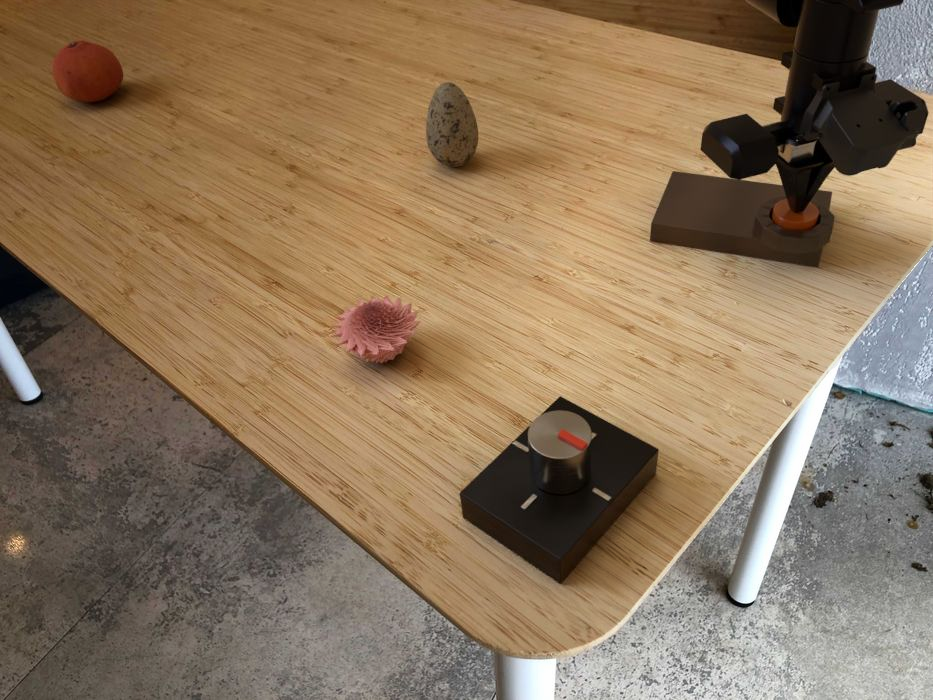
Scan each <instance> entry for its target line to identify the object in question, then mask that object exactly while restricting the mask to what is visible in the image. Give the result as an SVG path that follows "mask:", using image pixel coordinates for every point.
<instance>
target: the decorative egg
mask: <svg viewBox="0 0 933 700" xmlns="http://www.w3.org/2000/svg"><path fill="white" fill-rule="evenodd" d="M425 120H426V121H425V138H426V143H427V147H428V149H429V152H430V153H431V155H432V157H433V158H434V159H435V160H436V161H437V162H438V163H440V164H442V165H443V166H446V167H450V168H456V167H461V166H463V165H465V164H467V163H468V162H469V161H470V160H471V159H472V158H473V157H474V155H475V153H476V151H477V149H478V145H479V128H478V122H477V118H476V115H475V111H474V110H473V107H472V105H471V103H470V100H469V99H468V97H467V96H466V94H465V92H464V91H463V90H462V89H461V88H460V87H459V85H457V84H455V83H453V82H450V81H447V82H443V83H440V85H438V86H437V88H436V89H435V90H434V92H433V94H432V95H431V99H430V102H429V105H428V108H427V113H426V119H425Z"/></svg>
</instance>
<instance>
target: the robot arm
mask: <svg viewBox="0 0 933 700" xmlns="http://www.w3.org/2000/svg"><path fill="white" fill-rule="evenodd" d="M744 1H745V2H746V3H747V4H749V5H751V6H752V7H754V8H755V9H757V10H759V12H762V13H763V14H765V15H766V16H767V17H769V18H771V19H773V20H774V21H776V22H777V23H779V24H780V25H782V26H785V27H787V28H796V33H795V38H794V43H793V49H792V50H788V51H783V52H782V53H781V54H782V56H781V61H780V65H781V66H783V67H784V68H785V69H787V70H788V77H787V81H786V87H785V93H784V95H783V96H777V97H774V101H773V107H772V110H774V111H775V112H776V113H778V114H779V115H780V120H779V121H775V122H771V123H767V124H763V125H761V124H760V122H758V121H756V120H755V119H754V118H753V117H751V116H750V115H749V114H748V113H743V114H739V115H735V116H731V117H726V118H722V119H717V120H714V121H711V122H709V123H708V124H707V125H706V126H705V127H704V128H703V131H702V134H701V141H700V151H701V152H702V153H703V154H704V155H705V156H706V157H707V158H708V159H709V160H711V161H712V162H713V163H714V164H715V166H717V167H718V168H719V169H720V170H721V171H722V172H723V173H724V174H725V175H726V176H728V178H731V179H738V180H745V179H749V178H752V177H756V176H760V175H764V174H768V173H769V171H770V170H771V169H772V168H773V167H774V166H776V170H777V171H778V174H779V178H780V181H781V185H783V188H784V191H785V194H786V198H787V201H788V204H789V207H790V209H791V210H792V211H793V212H794V213H799V212H803V211H804V210H805V208H806V207H807V205H808V204H809V203H810V201H811V200H812V198H813V197H814V195H815V194H816V192H817V191H818V190H820V188H821V187H822V185H823V183H824V182H825V181H826V179H827V178H828V177H829V175H830V174H831V173H832V172H833V170H834V169H835V170H836V171H837V172H838V173H839V174H840V175H843V176H847V177H848V176H849V177H851V176H857V175H858V174H860V173H862V172H866V171H871V170H875V169H883V168H885V167H887V166H888V165H890V163H891V161H892V160H893V159H894V157H895V156H896V154H897V153H898V151H902V150H905V149H910V148H913V147H915V146H916V145H917V137H918V136H919V135H922V134H923V133H924V130H925V126H926V123H927V120H928V117H929V108H928V106H927V105H928V104H927V103H926V101H925V99H924V98H922V97H921V96H919V95H917V94H916V93H914V92H912V91H911V90H909V89H907V88H906V87H905V86H903V85H901V84H899V83H898V82H896V81H894V80H893V79H892V78H890V79H886V80H882V81H877V78H878V75H877V74H876V72H877V67H876V66H875V65H873V64H871V63H870V62H868V57H869V54H870V49H871V45H872V41H873V38H874V37H873V36H874V32H875V30H876V29H875V28H876V25H877V21H878V17H879V13H880V11H881V10H887V9H890V8H894V7H900V6H901V5H902V4H903V3H904V0H744ZM876 81H877V82H876Z"/></svg>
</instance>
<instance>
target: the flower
mask: <svg viewBox="0 0 933 700" xmlns="http://www.w3.org/2000/svg"><path fill="white" fill-rule="evenodd" d="M355 302H356V303H357V306H354V307H349V306H343V309H344V310H346V311H348V312H344V313H343V314H339V315H334V316H333V317H334V319H341V321H339V322H336V323H335V324H331V325H329V326H328V327H329V328H332V329H333V328H339V329H338V331H336V332H335V333H334V334H331V335H330V336H329V338H330V339H331V338H340V339H339V341H338V342H337V343H336V345H335V346H336V347H339V346H342V345H345V344H346V353H350V352H351V351H352V352H354V354H355V355H359V356H360V359H363V360H364V359H365V361H366V363H369V362H373V363H376V364H379V363H380V364H383V363H387V362H388V361H393V360H394V359H395V358H396V356H398V355H401V354H402V353H403V350H404V348H405V346H406V345H407V344H408V340H409V339H411V338H412V337H413V336H414V335H415V334H417V331H415V329H416V327H418V325H419V324H420V323H421V321H420V320H416V318H417V316H418V314H419V311H418V310H417V311H413V312H412V303H411V302H410V303H408V304H406V305H404V306H403V304H402V298H401V296H400V297H398V298H397V299H396V300H395V301H394V302H392V301H391V299H390V297H389V296H388V295H387V294H386V295H384V297H383V300H380V299H377V298H375V297H374V296H373V295H371V296H370V300H369V301H368V302H367V301H362V300H360V299H356V300H355Z"/></svg>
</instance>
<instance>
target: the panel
mask: <svg viewBox="0 0 933 700" xmlns="http://www.w3.org/2000/svg"><path fill="white" fill-rule="evenodd" d="M559 410H560V411H569V412H572V413H575V414H577V415H579V416H581V417H582V418H583V419H585V421H586V422H587V423H588V424H589V426H590V428H591V431H592V448H591V475H590V478H589V480H588V482H587V483H586V484H585V485H584V486H583V487H582V488H581V489H579V490H577V491H575V492H573V493H569V494H561V495H560V494H552V493H548V492H546V491H544V490H542V489H540V488H539V487H538V486H537V485H536V484H535V483H534V482H533V480H532V478H531V476H530V467H529V448H528V430H529V427H530V425H528V426H527V427H526V428H525V429H524V430H523V431H522V432H521V433H520V434H519V435H518V436H517V437H516V438H514V440H512V442H510V444H509V445H508V446H507V447H506V448H505V449H504V450H502V451H501V452H500V453H499V454H498V455H497V456H496V457H495V458H494V459H493V460H492V461H491V462H490V463H489V464H488V465H487V466H486V467H485V468H484V469H483V470H481V471H480V473H478V474H477V475H476V476H475V478H474V479H472V480H471V481H470V482H469V483H468V484H467V485H466V486H465V487H464V488H463V489H462V490H461V491H460V492H459V499H460V507H461V514H462V518H463V519H464V520H466V521H467V522H469V523H470V524H472V525H473V526H474V527H476V528H477V529H479V530H480V531H482V532H483V533H485V534H486V535H487V536H489V537H490V538H492V539H494V540H495V541H496V542H498V543H499V544H501V545H502V546H503V547H505V548H507V550H510V551H511V552H513V553H514V554H515V555H517V556H519V557H520V558H521V559H523V560H524V561H526V562H527V563H529V564H530V565H532V566H533V567H535V568H536V569H538V570H539V571H540V572H542V573H543V574H545V575H546V576H547V577H549V578H551V579H552V580H553V581H555V582H556V583H558V584H559V585H562V583H564V581H565V580H567V578H568V577H569V575H570V574H571V573H572V572H573V571H574V570H575V569H576V568H577V566H578V565H579V564H580V563H581V562H582V561H583V559H584V558H585V556H587V555H588V554H589V553H590V551H591V550H592V549H593V548H594V547H595V545H596V544H598V543H599V541H600V540H601V538H602V537H604V535H605V534H606V533H607V532H608V531H609V529H610V528H611V527H612V526H613V525H614V524H615V523H616V521H618V520H619V518H620V517H621V516H622V514H623V513H624V512H625V511H626V509H628V507H630V505H631V504H632V503H633V502H634V500H635V499H636V498H637V497H638V496H639V495H640V494H641V492H642V491H643V490H644V489H646V487H647V485H649V483H650V482H651V481H652V480H653V479H654V477H656V475H657V469H658V458H659V450H660V449H659V448H657V447H656V446H654V445H652V444H650V443H648V442H646V441H644V440H643V439H640V438H639V437H638V436H636V435H633V434H631V433H630V432H628V431H626V430H624V429H623V428H621V427H618V426H616V425H615V424H613V423H611V422H609V421H607V420H605V419H603V418H602V417H600V416H598V415H596V414H594V413H592V412H591V411H589V410H587V409H585V408H584V407H581V406H579V405H578V404H576V403H574V402H572V401H570V400H568V399H566V398H565V397H563V396H559V397H557V398H556V399H555V400H554V401H553V402H552V403H551V404H550V405H549V406H548V407H547V408H546V409H545V410H543V412H542V413H541V414H540V415H542V414H544V413H547V412H551V411H559Z"/></svg>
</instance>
